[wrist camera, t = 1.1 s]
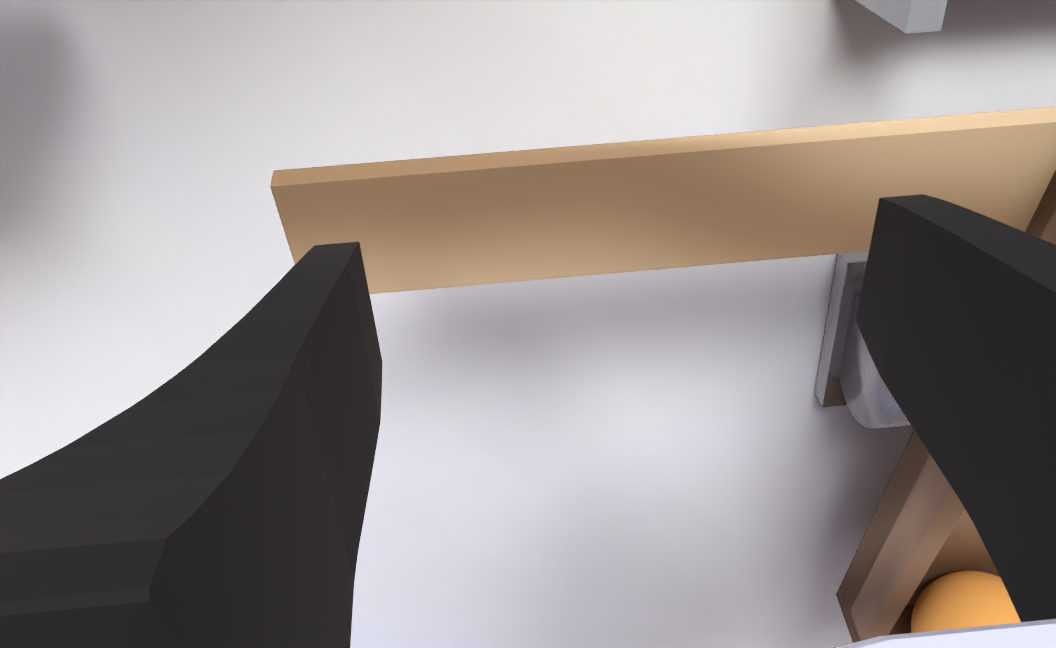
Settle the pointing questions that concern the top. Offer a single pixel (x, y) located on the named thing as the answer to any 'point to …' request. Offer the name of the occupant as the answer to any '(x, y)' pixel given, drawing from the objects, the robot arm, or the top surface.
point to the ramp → (702, 251)
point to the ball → (963, 603)
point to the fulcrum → (852, 354)
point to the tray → (909, 13)
